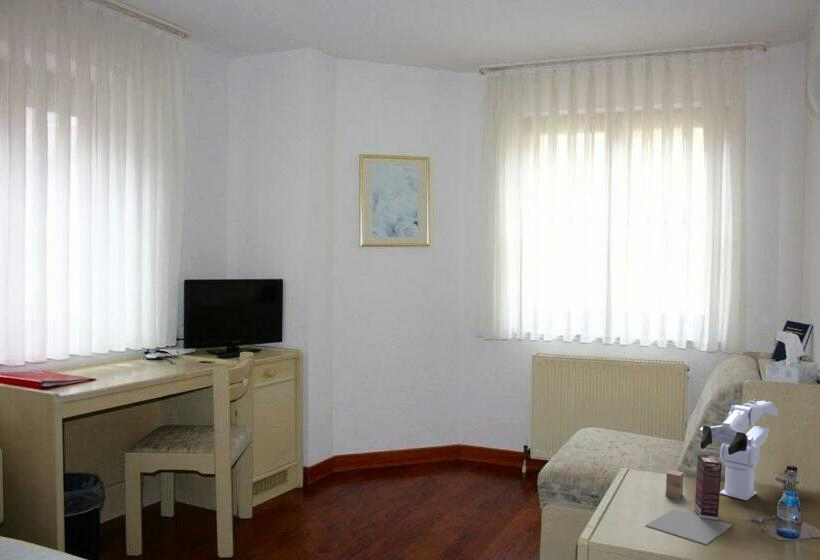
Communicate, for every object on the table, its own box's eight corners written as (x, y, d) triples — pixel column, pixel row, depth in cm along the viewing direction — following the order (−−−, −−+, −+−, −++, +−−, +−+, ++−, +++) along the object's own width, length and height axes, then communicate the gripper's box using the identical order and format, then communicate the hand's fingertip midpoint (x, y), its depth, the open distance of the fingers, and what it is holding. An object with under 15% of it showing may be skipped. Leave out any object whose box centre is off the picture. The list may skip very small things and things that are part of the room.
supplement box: (718, 520, 188) (722, 463, 188) (700, 518, 189) (703, 461, 189) (711, 510, 196) (715, 455, 196) (693, 508, 197) (697, 453, 197)
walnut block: (668, 492, 211) (669, 469, 211) (682, 495, 209) (683, 472, 208) (665, 495, 207) (666, 473, 207) (679, 498, 205) (680, 475, 205)
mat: (673, 509, 196) (673, 508, 196) (731, 526, 185) (731, 525, 185) (645, 526, 183) (645, 525, 183) (706, 545, 172) (706, 543, 172)
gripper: (707, 411, 209) (689, 430, 199) (757, 420, 199) (741, 441, 189) (708, 432, 210) (691, 452, 201) (758, 442, 200) (742, 464, 191)
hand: (715, 448), depth 195 cm, fingers open, 7 cm apart
